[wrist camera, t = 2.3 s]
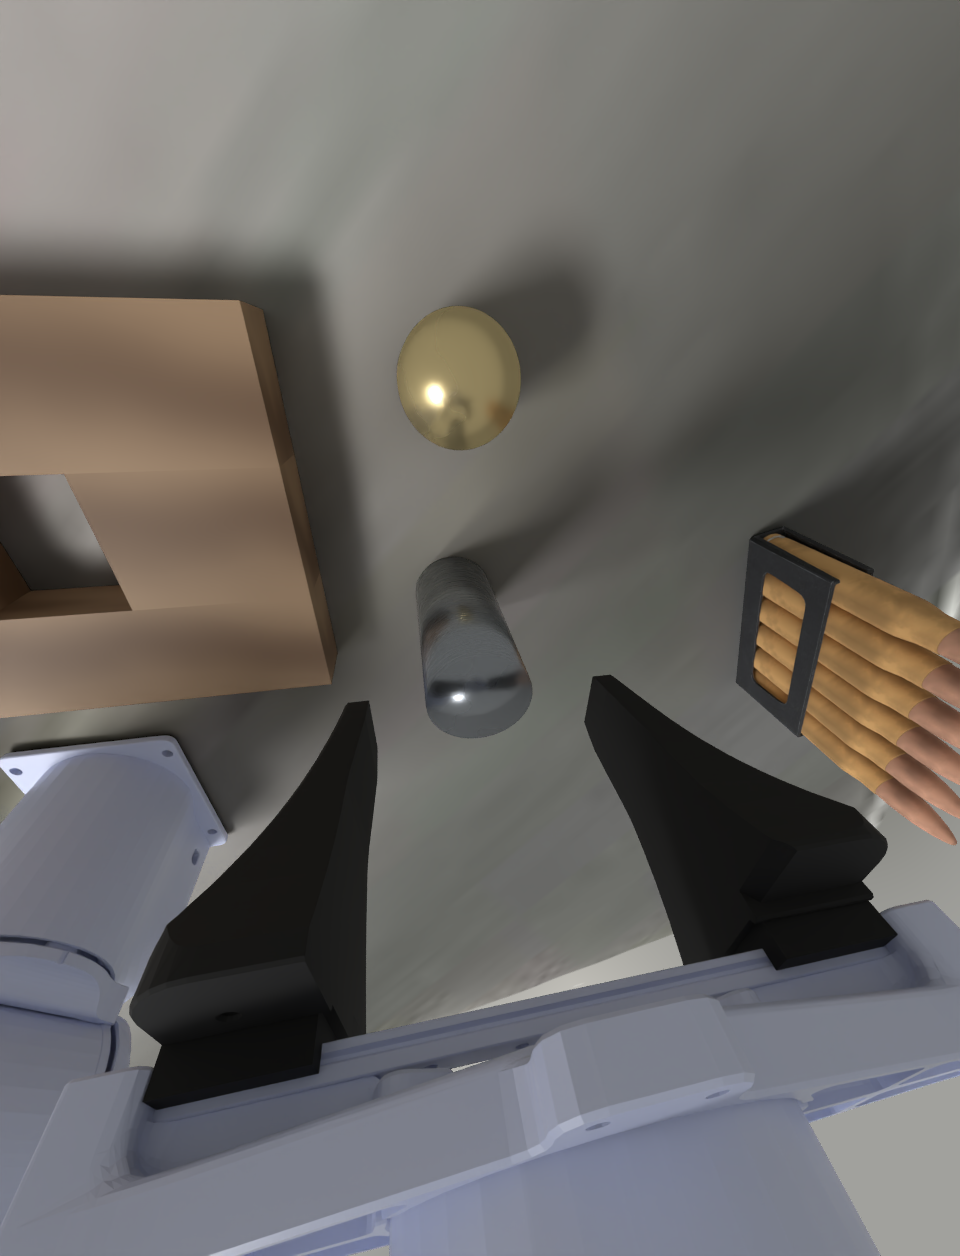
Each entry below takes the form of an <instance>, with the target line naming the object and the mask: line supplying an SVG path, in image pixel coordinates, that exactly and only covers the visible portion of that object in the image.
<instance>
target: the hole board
mask: <svg viewBox="0 0 960 1256" xmlns="http://www.w3.org/2000/svg"><path fill="white" fill-rule="evenodd" d="M47 474H64V475H65V477H66V479H67V481H68V483H69V485H70V487H71V489H72V491H73V493H74V495H75V497H76V499H77V501H78V503H79V505H80V507H81V509H82V511H83V513H84V515H85V517H86V519H87V521H88V523H89V525H90V527H91V529H92V531H93V533H94V535H95V537H96V539H97V541H98V543H99V545H100V547H101V549H102V551H103V553H104V555H105V557H106V559H107V561H108V563H109V565H110V567H111V569H112V571H113V573H114V575H115V576H116V578H117V580H118V582H119V584H120V585H113V586H97V587H82V588H67V589H52V590H36V591H31V590H30V589H29V587H28V586H27V584H26V582H25V581H24V579H23V578H22V576H21V575H20V573H19V571H18V570H17V568H16V567H15V565H14V563H13V562H12V560H11V559H10V557H9V556H8V554H7V552H6V551H5V549H4V548H3V546H2V544H1V543H0V718H6V717H16V716H26V715H35V714H45V713H55V712H65V711H74V710H84V709H94V708H104V707H113V706H123V705H133V704H143V703H152V702H162V701H172V700H182V699H191V698H201V697H211V696H221V695H230V694H240V693H250V692H260V691H269V690H279V689H289V688H299V687H308V686H318V685H328V684H332V679H333V674H334V669H335V664H336V659H337V654H338V652H337V648H336V643H335V638H334V634H333V629H332V625H331V620H330V616H329V611H328V606H327V602H326V597H325V593H324V588H323V583H322V579H321V574H320V570H319V565H318V561H317V556H316V551H315V547H314V542H313V538H312V533H311V528H310V524H309V519H308V515H307V510H306V506H305V501H304V496H303V492H302V487H301V483H300V478H299V473H298V469H297V464H296V460H295V455H294V451H293V446H292V441H291V437H290V432H289V428H288V423H287V418H286V414H285V409H284V405H283V400H282V396H281V391H280V386H279V382H278V377H277V373H276V368H275V363H274V359H273V354H272V350H271V345H270V341H269V336H268V331H267V327H266V322H265V318H264V313H263V310H262V309H260V308H257V307H255V306H252V305H250V304H247V303H245V302H242V301H240V300H204V299H159V298H115V297H71V296H26V295H0V476H14V475H47Z"/></svg>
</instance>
